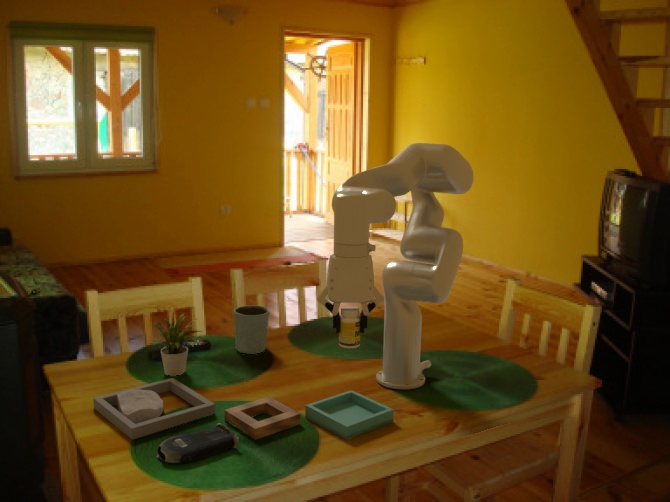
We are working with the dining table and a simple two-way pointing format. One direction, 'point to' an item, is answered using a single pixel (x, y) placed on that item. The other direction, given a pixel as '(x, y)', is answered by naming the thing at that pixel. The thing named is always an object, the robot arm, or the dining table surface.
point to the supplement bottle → (349, 327)
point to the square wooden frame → (259, 429)
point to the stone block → (140, 405)
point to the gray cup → (251, 328)
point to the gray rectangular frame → (161, 423)
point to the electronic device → (197, 444)
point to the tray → (349, 414)
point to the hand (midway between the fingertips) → (349, 330)
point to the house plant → (174, 346)
